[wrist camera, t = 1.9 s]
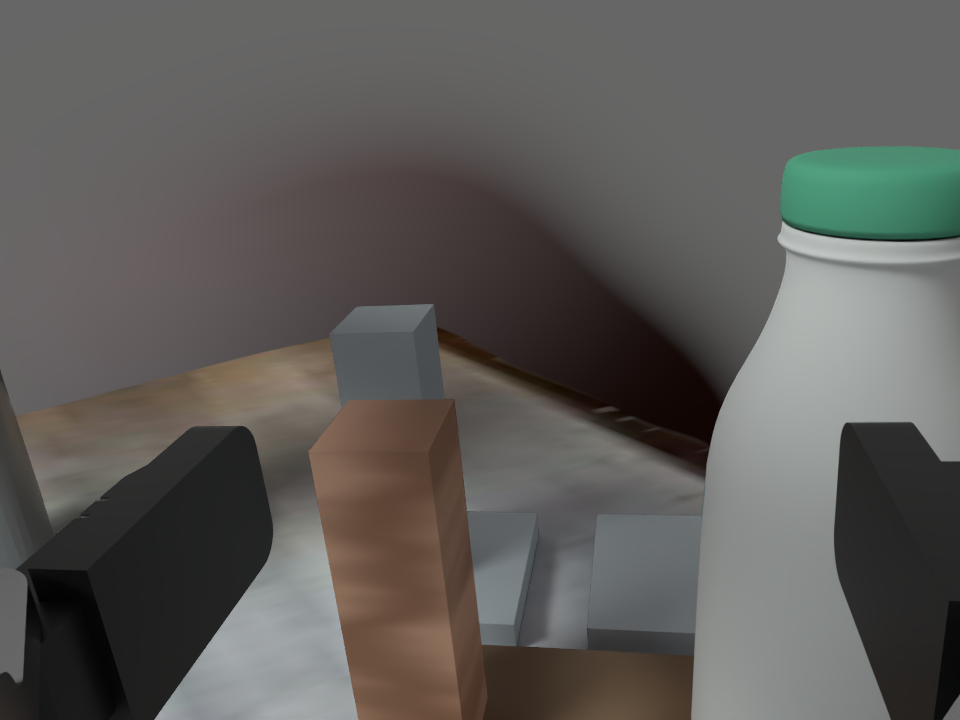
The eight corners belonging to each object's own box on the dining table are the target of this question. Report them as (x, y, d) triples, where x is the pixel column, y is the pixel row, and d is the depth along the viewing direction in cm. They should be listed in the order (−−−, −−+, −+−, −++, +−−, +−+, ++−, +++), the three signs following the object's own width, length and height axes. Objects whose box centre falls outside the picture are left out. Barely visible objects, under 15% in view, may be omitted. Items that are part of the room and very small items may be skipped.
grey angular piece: (356, 641, 35) (305, 356, 30) (407, 531, 43) (372, 290, 38) (795, 664, 32) (814, 346, 27) (764, 540, 39) (775, 275, 35)
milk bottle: (1007, 883, 23) (1186, 162, 16) (740, 916, 22) (802, 188, 15) (863, 686, 30) (943, 130, 23) (660, 707, 30) (677, 147, 23)
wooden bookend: (345, 866, 25) (267, 503, 20) (417, 660, 33) (374, 367, 29) (1061, 946, 21) (1168, 519, 16) (942, 690, 29) (992, 357, 25)
